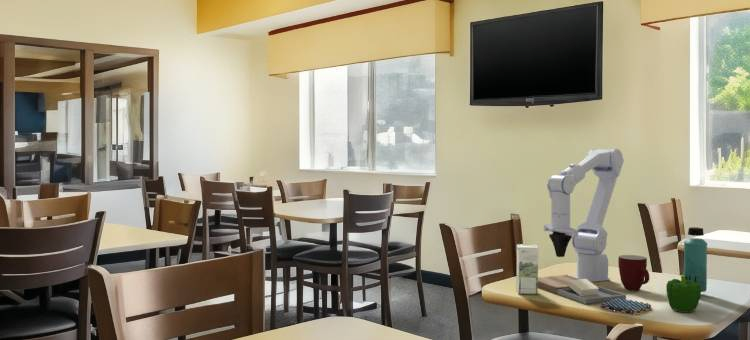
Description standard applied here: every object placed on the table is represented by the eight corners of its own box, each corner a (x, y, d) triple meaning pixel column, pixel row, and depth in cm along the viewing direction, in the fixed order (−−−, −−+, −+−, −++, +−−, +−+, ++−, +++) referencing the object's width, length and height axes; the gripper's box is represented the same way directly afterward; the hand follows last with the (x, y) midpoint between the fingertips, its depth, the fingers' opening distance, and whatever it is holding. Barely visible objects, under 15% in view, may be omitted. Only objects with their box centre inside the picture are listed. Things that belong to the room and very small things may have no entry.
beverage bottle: (705, 293, 197) (706, 226, 196) (708, 298, 191) (709, 229, 190) (681, 291, 199) (682, 225, 198) (683, 296, 193) (684, 228, 192)
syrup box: (535, 290, 202) (535, 243, 201) (538, 295, 196) (538, 246, 195) (516, 290, 202) (516, 243, 202) (518, 294, 197) (518, 246, 196)
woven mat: (597, 310, 180) (597, 303, 180) (617, 303, 187) (617, 296, 187) (633, 318, 172) (634, 310, 172) (653, 311, 179) (653, 303, 179)
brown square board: (566, 280, 215) (566, 274, 215) (595, 290, 202) (595, 283, 202) (529, 284, 210) (529, 278, 210) (556, 294, 197) (556, 287, 197)
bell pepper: (674, 304, 184) (674, 269, 183) (704, 310, 178) (705, 273, 177) (660, 310, 178) (660, 273, 178) (691, 316, 172) (691, 278, 172)
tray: (595, 290, 202) (595, 285, 202) (625, 300, 190) (626, 294, 189) (557, 294, 197) (557, 289, 197) (585, 304, 185) (585, 299, 185)
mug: (659, 292, 199) (659, 259, 198) (640, 295, 195) (641, 261, 194) (630, 285, 208) (630, 254, 207) (612, 288, 204) (612, 256, 203)
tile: (584, 284, 201) (586, 278, 200) (597, 294, 195) (598, 288, 195) (568, 286, 198) (569, 280, 198) (580, 296, 193) (582, 290, 193)
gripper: (535, 211, 212) (535, 253, 212) (565, 216, 198) (564, 261, 199) (554, 210, 214) (553, 252, 215) (584, 215, 201) (583, 259, 202)
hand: (560, 256), depth 207 cm, fingers closed
